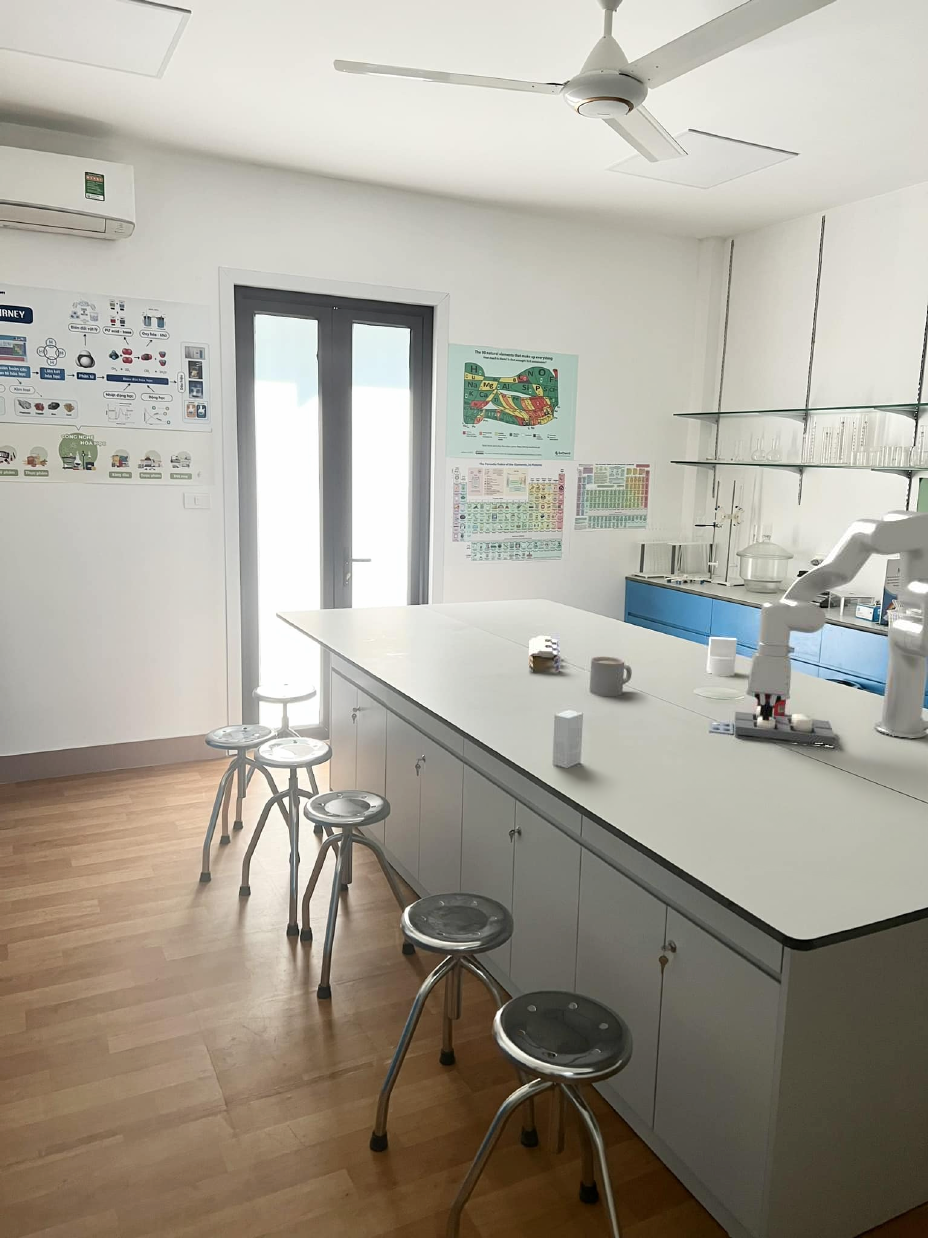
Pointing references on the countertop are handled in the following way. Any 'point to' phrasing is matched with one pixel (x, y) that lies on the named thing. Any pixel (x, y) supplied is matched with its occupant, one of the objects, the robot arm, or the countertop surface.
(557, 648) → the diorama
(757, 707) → the button
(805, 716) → the button
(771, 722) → the button
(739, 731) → the button board
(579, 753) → the skincare box
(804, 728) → the button
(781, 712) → the canned food
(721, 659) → the cylinder with rectangular tab
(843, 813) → the countertop surface
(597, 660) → the coffee mug
